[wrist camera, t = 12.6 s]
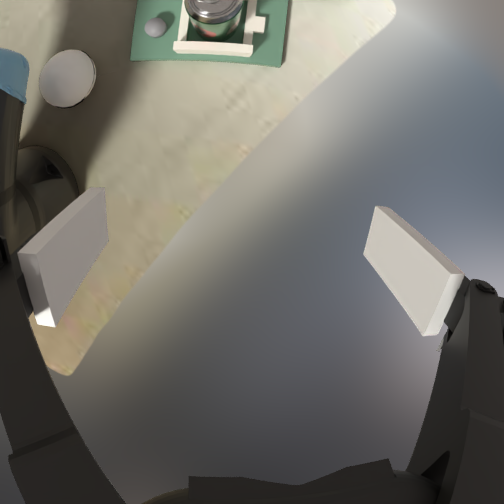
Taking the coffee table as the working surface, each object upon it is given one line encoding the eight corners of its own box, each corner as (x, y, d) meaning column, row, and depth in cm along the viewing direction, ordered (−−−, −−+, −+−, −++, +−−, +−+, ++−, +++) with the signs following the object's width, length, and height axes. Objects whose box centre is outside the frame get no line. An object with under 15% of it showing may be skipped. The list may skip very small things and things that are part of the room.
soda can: (236, 44, 32) (241, 23, 21) (192, 42, 31) (179, 21, 21) (240, 7, 30) (247, -27, 19) (196, 5, 29) (186, -29, 18)
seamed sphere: (52, 104, 33) (23, 109, 27) (61, 52, 30) (34, 47, 24) (117, 110, 35) (96, 114, 29) (129, 54, 32) (110, 47, 25)
